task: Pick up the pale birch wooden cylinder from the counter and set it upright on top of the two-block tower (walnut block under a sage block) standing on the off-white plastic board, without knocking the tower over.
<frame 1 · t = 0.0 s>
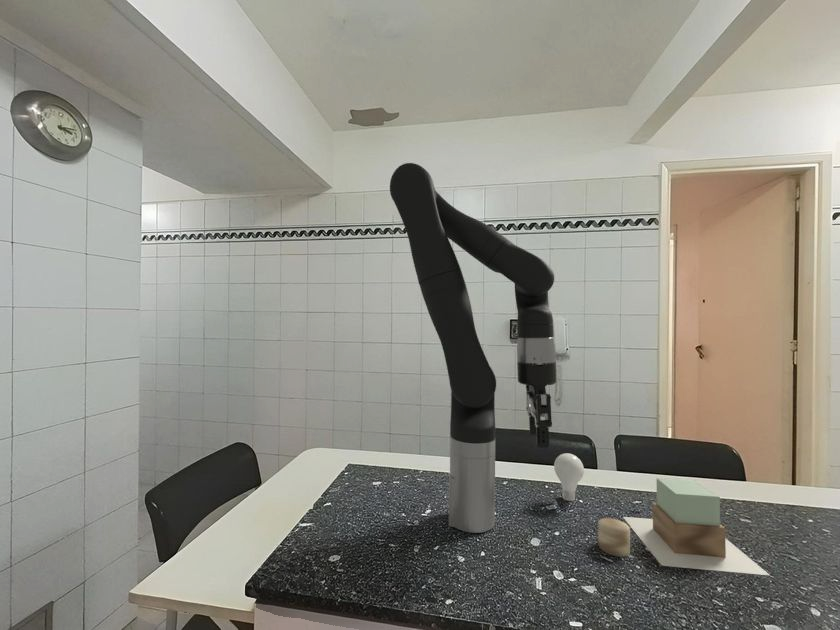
hand: (538, 440, 76), 17 cm above the table, tool pointing down, fingers open, 8 cm apart
sage block: (686, 514, 69), point 6 cm above the table, touching walnut block
lightbulb: (568, 503, 86), on the table
birch cylinder: (613, 553, 66), on the table
base board: (686, 547, 69), on the table
walnut block: (686, 542, 69), point 1 cm above the table, touching base board, sage block
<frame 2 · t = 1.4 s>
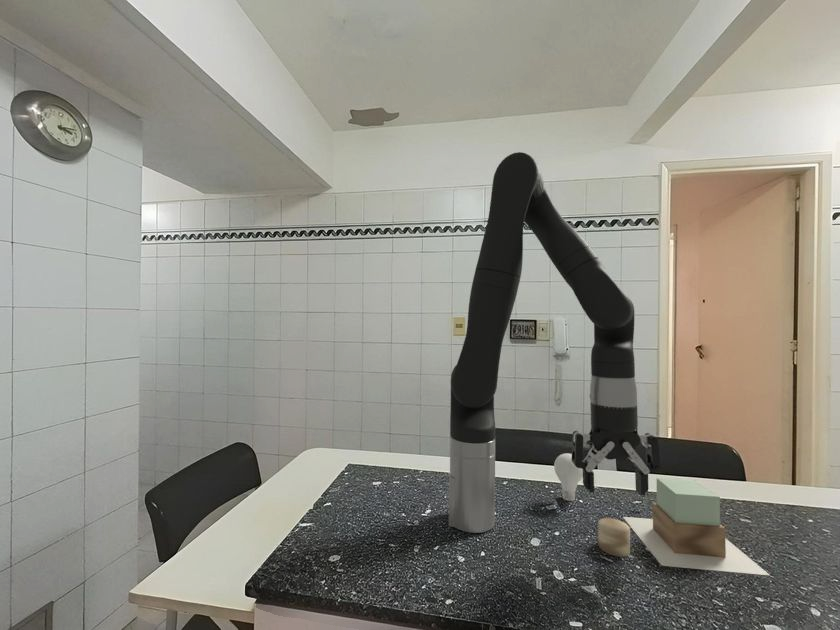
hand: (615, 492, 67), 11 cm above the table, tool pointing down, fingers open, 8 cm apart
nothing on the table moved.
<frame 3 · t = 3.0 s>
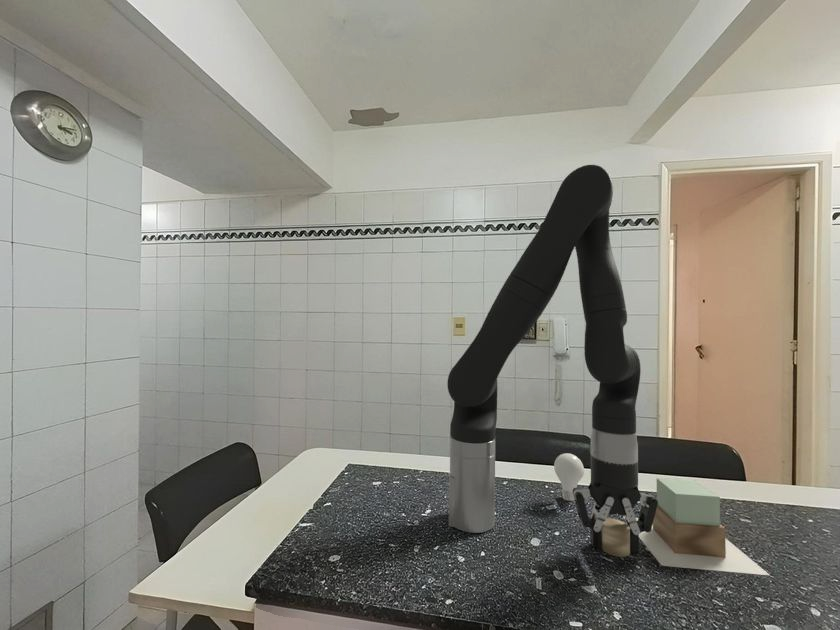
hand: (614, 551, 66), 0 cm above the table, tool pointing down, fingers closed on birch cylinder, 5 cm apart
birch cylinder: (614, 553, 66), on the table, touching gripper
everything else where it was.
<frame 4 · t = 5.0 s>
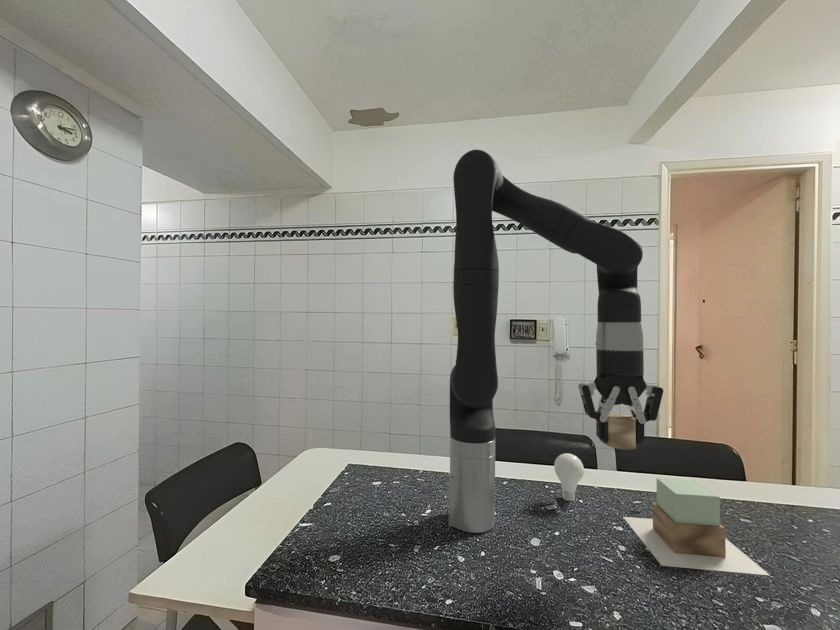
hand: (620, 442, 67), 20 cm above the table, tool pointing down, fingers closed on birch cylinder, 5 cm apart
birch cylinder: (619, 445, 67), point 19 cm above the table, touching gripper
everything else where it was.
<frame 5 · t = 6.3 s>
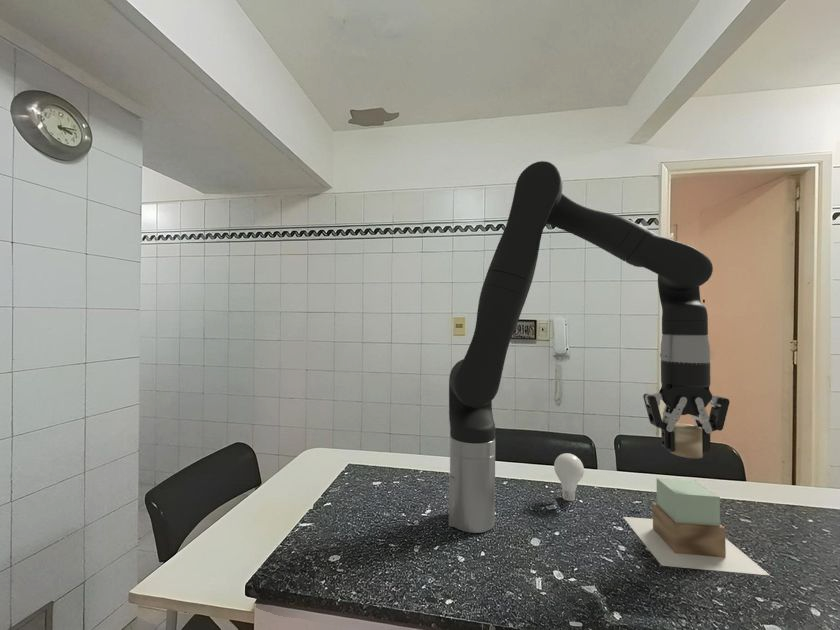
hand: (685, 451, 69), 17 cm above the table, tool pointing down, fingers closed on birch cylinder, 5 cm apart
birch cylinder: (685, 453, 69), point 17 cm above the table, touching gripper
everything else where it was.
when the fingers open (13 cm above the table, at t = 7.5 s): birch cylinder drops 1 cm, resting on sage block.
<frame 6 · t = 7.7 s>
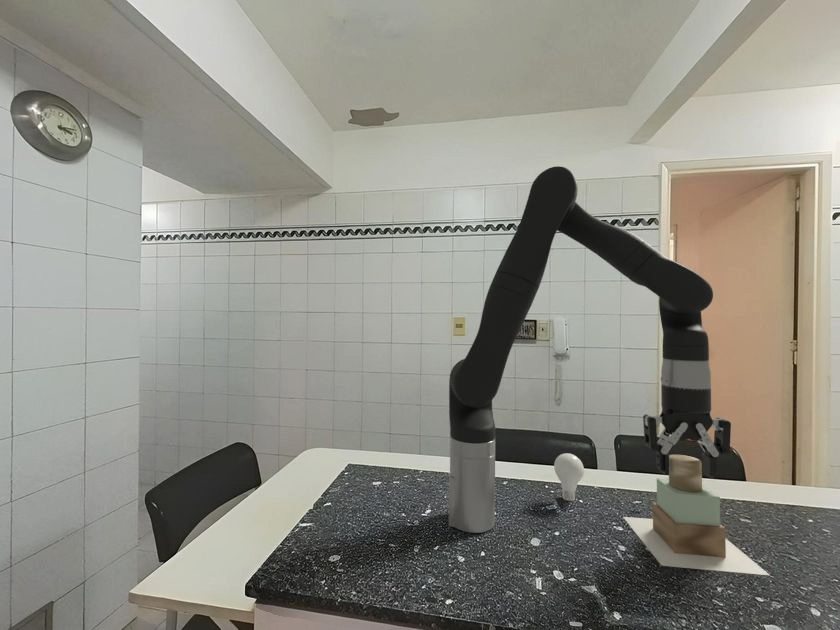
hand: (686, 474, 69), 13 cm above the table, tool pointing down, fingers open, 7 cm apart
sage block: (686, 514, 69), point 6 cm above the table, touching birch cylinder, walnut block
birch cylinder: (685, 486, 69), point 11 cm above the table, touching sage block
everything else where it was.
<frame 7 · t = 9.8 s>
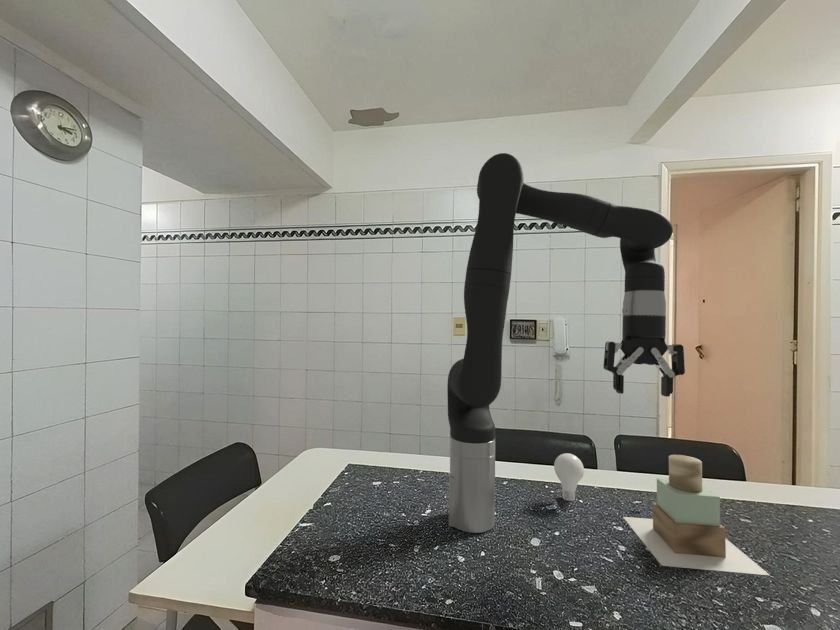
hand: (642, 394, 76), 27 cm above the table, tool pointing down, fingers open, 8 cm apart
nothing on the table moved.
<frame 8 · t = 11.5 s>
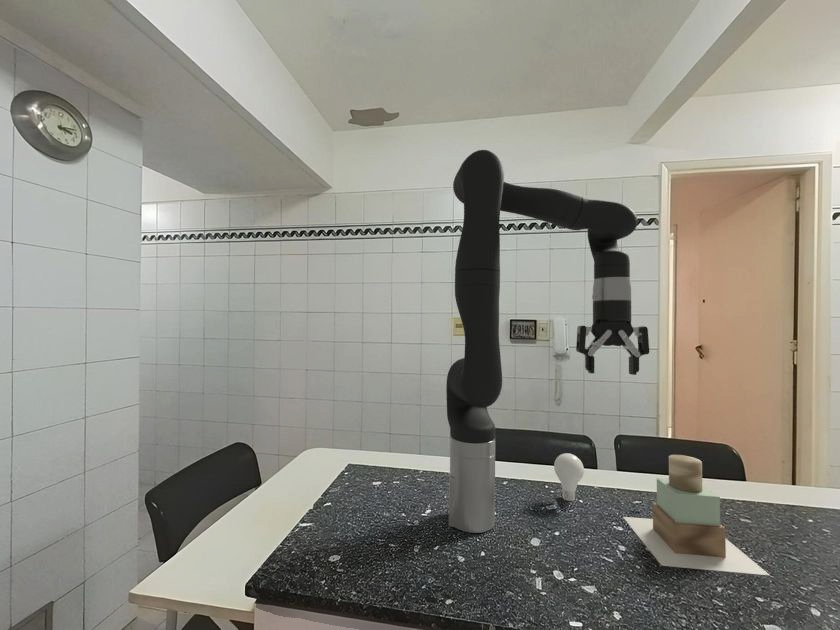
hand: (611, 373, 82), 30 cm above the table, tool pointing down, fingers open, 8 cm apart
nothing on the table moved.
at the end: birch cylinder 0.2 cm off-centre on the sage block, point 5.0 cm above the sage block's base; sage block 0.0 cm off-centre on the walnut block, point 5.0 cm above the walnut block's base; birch cylinder tilted 0° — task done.
